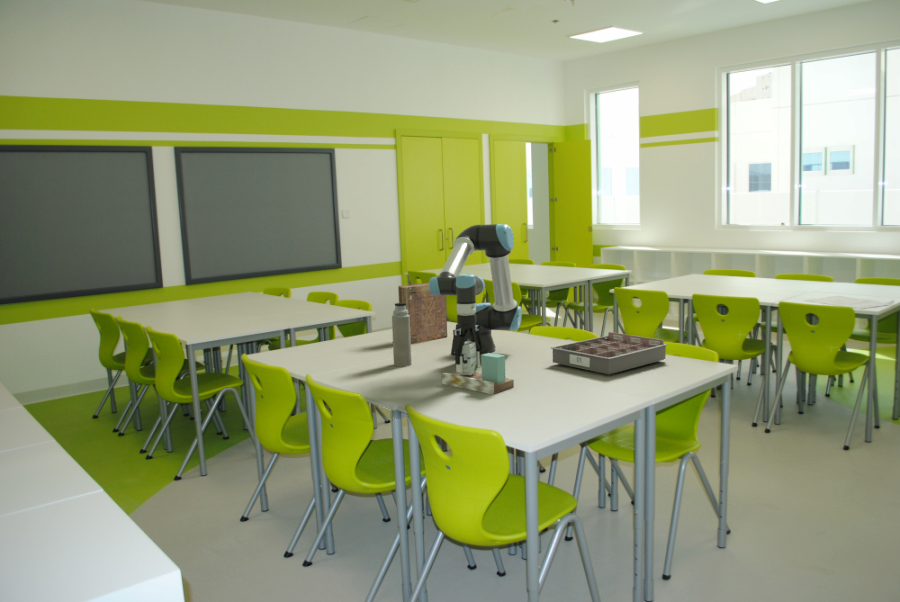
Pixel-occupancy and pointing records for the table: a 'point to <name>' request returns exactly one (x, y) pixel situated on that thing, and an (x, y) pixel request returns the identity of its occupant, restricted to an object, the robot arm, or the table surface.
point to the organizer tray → (610, 353)
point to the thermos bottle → (401, 335)
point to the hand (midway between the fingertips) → (468, 369)
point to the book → (424, 312)
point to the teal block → (493, 367)
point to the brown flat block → (476, 382)
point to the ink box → (469, 358)
